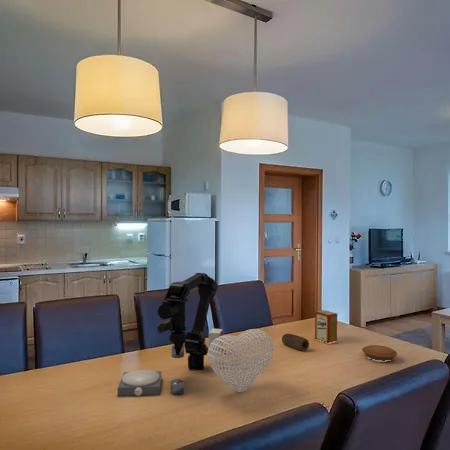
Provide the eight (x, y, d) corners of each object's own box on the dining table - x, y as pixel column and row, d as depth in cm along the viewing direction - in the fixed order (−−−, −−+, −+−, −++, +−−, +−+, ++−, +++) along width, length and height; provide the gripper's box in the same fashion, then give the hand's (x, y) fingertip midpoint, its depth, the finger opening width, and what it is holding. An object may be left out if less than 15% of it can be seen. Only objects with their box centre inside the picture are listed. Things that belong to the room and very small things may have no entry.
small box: (219, 355, 190) (219, 333, 190) (208, 354, 191) (208, 332, 191) (222, 349, 198) (223, 328, 198) (212, 349, 199) (212, 328, 199)
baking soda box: (336, 342, 212) (337, 312, 212) (328, 344, 209) (328, 314, 209) (323, 338, 220) (323, 309, 220) (315, 339, 217) (315, 310, 217)
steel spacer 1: (183, 353, 162) (184, 344, 162) (183, 358, 157) (184, 347, 157) (171, 354, 162) (171, 344, 162) (171, 358, 157) (171, 348, 157)
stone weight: (311, 350, 199) (311, 337, 199) (301, 353, 195) (302, 339, 195) (288, 343, 211) (289, 330, 211) (279, 345, 206) (279, 332, 206)
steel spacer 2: (183, 389, 151) (183, 379, 151) (183, 395, 146) (183, 384, 146) (170, 390, 150) (170, 379, 150) (170, 395, 145) (170, 384, 145)
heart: (226, 410, 134) (226, 345, 134) (198, 394, 146) (199, 334, 146) (281, 388, 152) (282, 331, 152) (253, 376, 164) (254, 322, 164)
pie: (361, 361, 184) (361, 350, 184) (362, 351, 198) (363, 341, 198) (397, 366, 178) (397, 355, 178) (396, 355, 193) (396, 345, 193)
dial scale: (161, 378, 161) (161, 368, 161) (159, 395, 145) (159, 384, 145) (123, 379, 159) (123, 369, 159) (117, 396, 144) (117, 385, 143)
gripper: (159, 309, 168) (159, 346, 168) (156, 320, 149) (155, 361, 150) (185, 309, 169) (185, 345, 169) (186, 319, 151) (185, 360, 151)
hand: (177, 352), depth 160 cm, fingers closed on steel spacer 1, 5 cm apart
